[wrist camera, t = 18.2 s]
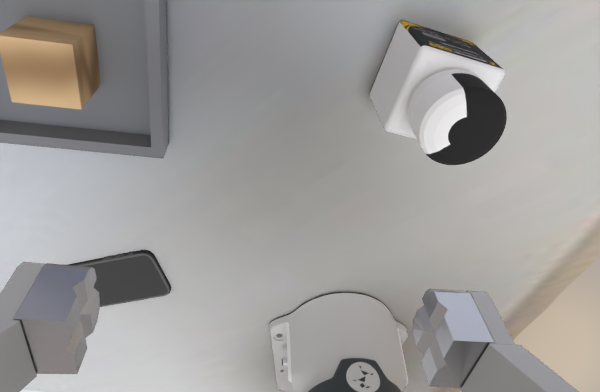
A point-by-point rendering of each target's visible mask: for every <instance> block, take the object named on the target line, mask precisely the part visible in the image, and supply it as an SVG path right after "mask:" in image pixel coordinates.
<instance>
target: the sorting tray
mask: <svg viewBox="0 0 600 392" xmlns="http://www.w3.org/2000/svg"><path fill="white" fill-rule="evenodd" d="M27 16H31V17H38V18H46V19H54V20H61V21H69V22H76V23H84V24H91V25H95V34H96V43H97V53H98V62H99V71H100V80H101V85H100V86H99V88H98V89H97V90H96V92H95V93H94V94H93V95H92V97H91V98H90V99H89V101H88V102H87V103H86V104H85V106H84V107H83V108H82V110H81V109H71V108H62V107H53V106H44V105H34V104H25V103H16V102H12V101H11V96H10V92H9V88H8V84H7V79H6V75H5V71H4V66H3V62H2V58H1V53H0V143H10V144H20V145H30V146H41V147H51V148H61V149H72V150H82V151H92V152H103V153H113V154H123V155H134V156H144V157H154V158H163V157H164V155H165V152H166V149H167V146H168V143H169V115H168V62H167V9H166V0H0V33H1V32H2V31H4V30H5V29H7V28H9V27H10V26H12V25H14V24H15V23H17V22H18V21H20V20H22V19H23V18H25V17H27Z"/></svg>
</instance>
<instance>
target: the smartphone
mask: <svg viewBox="0 0 600 392" xmlns="http://www.w3.org/2000/svg"><path fill="white" fill-rule="evenodd" d="M69 265H70V266H81V267H92V268H94V269H95V273H96V278H97V279H96V282H95V284H94V287H93V288H95V289H96V290H97V291H98V292H99V298H100V307H102V306H108V305H114V304H120V303H125V302H131V301H138V300H143V299H148V298H154V297H160V296H165V295H167V294H169V293H170V291H171V286H170V284H169V282H168V280H167V278H166V276H165V275H164V273H163V271H162V269H161V267H160V265H159V264H158V262H157V260H156V258H155V256H154V255H153V254H152V253H151V252H150V251H147V250H141V251H136V252H134V251H133V252H129V253H126V254H125V253H123V254H118V255H115V256H108V257H104V258H100V259H95V260H90V261H85V262H80V263H75V264H69Z"/></svg>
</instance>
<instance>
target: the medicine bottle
mask: <svg viewBox="0 0 600 392" xmlns="http://www.w3.org/2000/svg"><path fill="white" fill-rule="evenodd" d="M504 76H505V70H504V69H502V68H501V67H500V66H499V65H498V64H497V63H495V62H494V61H493V60H492V59H491V58H490V57H489V56H487V55H486V54H485V53H484V52H483V51H482V50H480V49H479V48H478V47H477V46H476V45H475V44H473V43H472V42H469V41H466V40H463V39H460V38H457V37H453V36H450V35H447V34H444V33H441V32H437V31H434V30H431V29H428V28H425V27H422V26H418V25H415V24H412V23H409V22H406V21H401V22H399V24H398V26H397V29H396V31H395V33H394V36H393V38H392V41H391V43H390V46H389V48H388V51H387V53H386V55H385V58H384V60H383V63H382V65H381V68H380V70H379V72H378V75H377V77H376V80H375V82H374V85H373V87H372V90H371V92H370V98H371V100H372V103H373V105H374V107H375V109H376V112H377V114H378V116H379V118H380V121H381V123H382V125H383V127H384V130H385V131H387V132H389V133H393V134H397V135H401V136H405V137H409V138H413V139H417V140H418V142H419V143H420V145H421V147H422V149H423V151H424V152H425V153H426V155H427V156H428V157H430V158H431V159H432V160H434V161H436V162H438V163H442V164H446V165H459V164H465V163H468V162H471V161H474V160H476V159H478V158H480V157H481V156H483V155H484V154H486V153H487V152H488V151H489V150H491V149H492V148H493V146H494V145H495V144H496V143H497V142H498V140H499V139H500V137H501V135H502V133H503V131H504V128H505V125H506V109H505V106H504V104H503V102H502V100H501V99H500V98H499V97H498V96H497V95H496V94H495V92H496V90H497V88H498V86H499V85H500V83H501V81H502V79H503V78H504Z"/></svg>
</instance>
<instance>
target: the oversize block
mask: <svg viewBox="0 0 600 392" xmlns="http://www.w3.org/2000/svg"><path fill="white" fill-rule="evenodd" d="M0 53H1V58H2V62H3V66H4V71H5V75H6V79H7V84H8V88H9V92H10V96H11V101H12V102H16V103H25V104H34V105H44V106H53V107H62V108H71V109H81V110H82V108H83V107H84V106H85V104H86V103H87V102H88V101H89V99H90V98H91V97H92V95H93V94H94V93H95V92H96V90H97V89H98V88H99V86H100V85H101V80H100V71H99V62H98V53H97V43H96V34H95V25H91V24H84V23H76V22H69V21H61V20H54V19H46V18H38V17H31V16H27V17H25V18H23V19H22V20H20V21H18V22H17V23H15V24H14V25H12V26H10V27H9V28H7V29H5V30H4V31H2V32H1V33H0Z"/></svg>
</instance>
